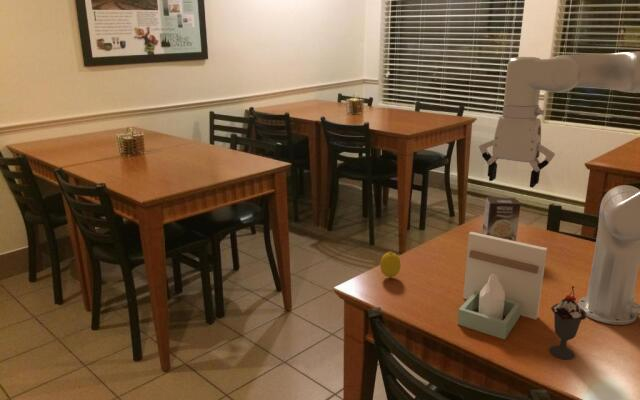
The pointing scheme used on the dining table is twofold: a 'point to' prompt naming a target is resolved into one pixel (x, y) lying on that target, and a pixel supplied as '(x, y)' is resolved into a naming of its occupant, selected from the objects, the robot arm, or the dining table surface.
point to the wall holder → (502, 281)
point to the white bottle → (492, 298)
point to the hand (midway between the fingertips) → (512, 182)
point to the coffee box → (501, 217)
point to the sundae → (566, 325)
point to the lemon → (390, 264)
